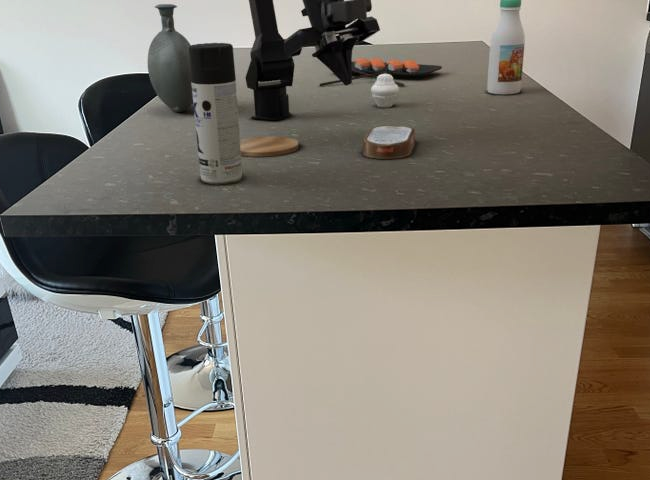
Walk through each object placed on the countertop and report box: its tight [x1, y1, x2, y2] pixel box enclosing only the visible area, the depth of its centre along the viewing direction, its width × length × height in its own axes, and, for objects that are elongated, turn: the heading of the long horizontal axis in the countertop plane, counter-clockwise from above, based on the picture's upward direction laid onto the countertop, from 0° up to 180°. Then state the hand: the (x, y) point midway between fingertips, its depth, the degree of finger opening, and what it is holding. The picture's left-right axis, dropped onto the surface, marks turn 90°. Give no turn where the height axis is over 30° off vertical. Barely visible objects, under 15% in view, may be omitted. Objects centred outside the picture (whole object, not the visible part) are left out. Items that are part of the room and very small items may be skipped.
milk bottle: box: [486, 0, 526, 95], centre depth 177 cm, size 8×8×20 cm
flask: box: [147, 3, 194, 113], centre depth 168 cm, size 12×17×22 cm
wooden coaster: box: [240, 136, 299, 158], centre depth 140 cm, size 12×12×1 cm
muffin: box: [370, 73, 400, 108], centre depth 170 cm, size 6×6×7 cm
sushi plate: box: [319, 57, 443, 87], centre depth 203 cm, size 29×30×4 cm
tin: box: [362, 125, 416, 160], centre depth 137 cm, size 15×3×8 cm
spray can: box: [189, 42, 243, 185], centre depth 118 cm, size 7×7×20 cm
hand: (348, 84), depth 137 cm, fingers closed
